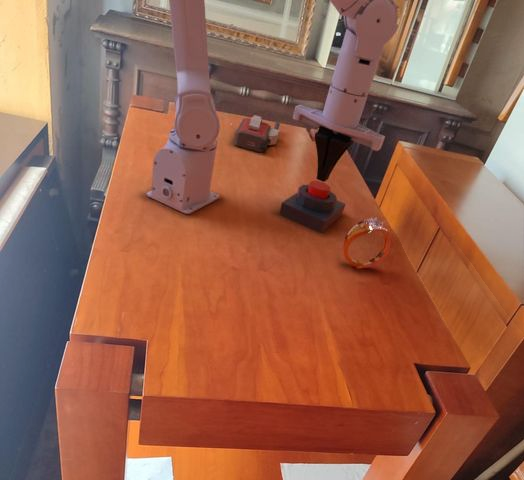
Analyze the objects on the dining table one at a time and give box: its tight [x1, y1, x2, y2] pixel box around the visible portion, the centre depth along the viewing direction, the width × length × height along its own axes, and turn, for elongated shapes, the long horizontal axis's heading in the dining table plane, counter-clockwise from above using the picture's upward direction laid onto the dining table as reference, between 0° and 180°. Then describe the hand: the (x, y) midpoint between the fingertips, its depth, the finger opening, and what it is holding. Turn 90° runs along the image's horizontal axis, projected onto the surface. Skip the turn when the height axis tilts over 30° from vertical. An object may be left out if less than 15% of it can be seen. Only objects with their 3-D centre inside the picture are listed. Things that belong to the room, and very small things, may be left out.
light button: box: [307, 180, 331, 199], centre depth 81 cm, size 4×4×2 cm
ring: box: [342, 216, 392, 270], centre depth 71 cm, size 7×3×8 cm, turn 93°
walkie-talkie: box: [233, 114, 281, 153], centre depth 107 cm, size 9×4×20 cm
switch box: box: [278, 184, 346, 234], centre depth 83 cm, size 10×8×4 cm
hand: (322, 179), depth 80 cm, fingers closed
